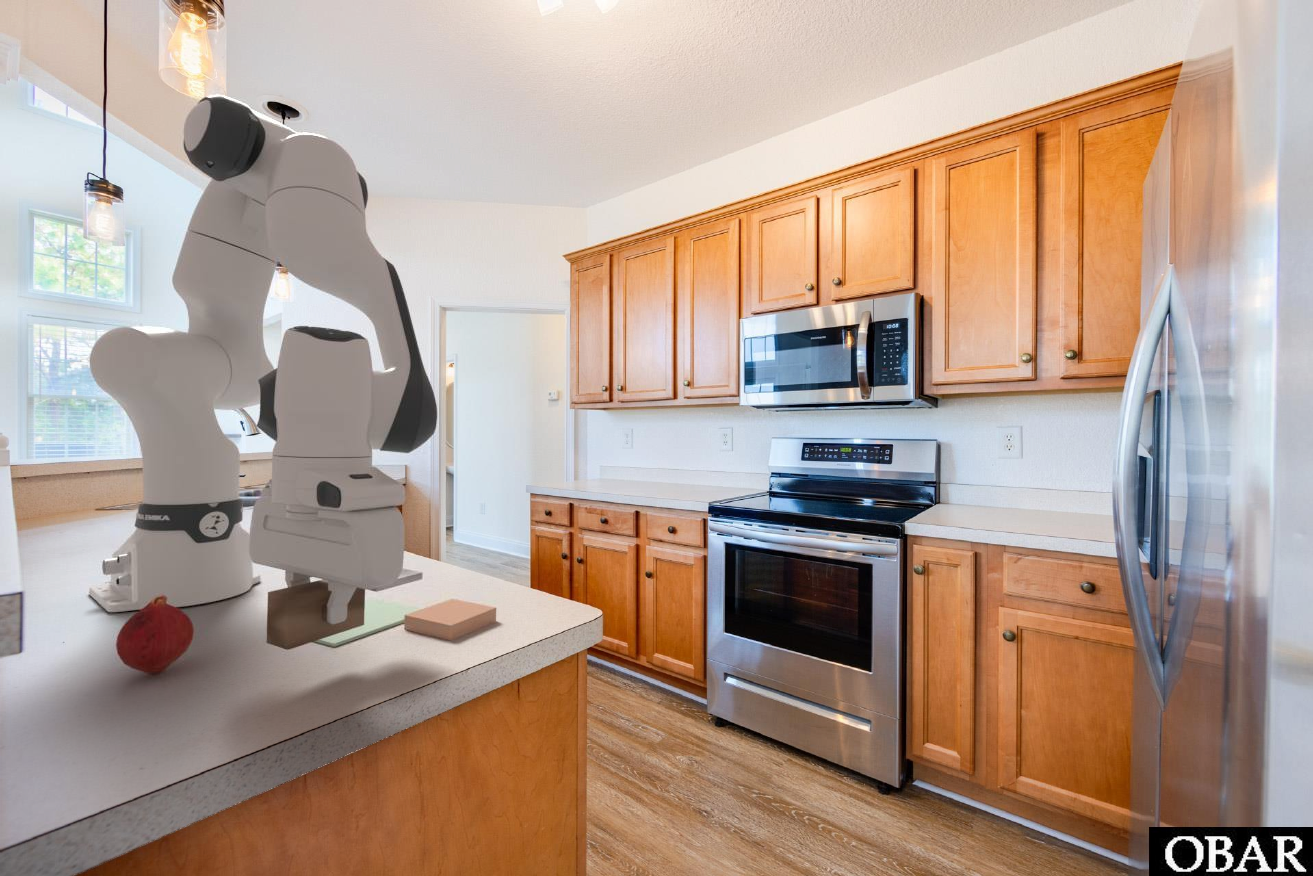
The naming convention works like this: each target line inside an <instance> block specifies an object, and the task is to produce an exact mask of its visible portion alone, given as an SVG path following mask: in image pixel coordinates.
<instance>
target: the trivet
mask: <svg viewBox="0 0 1313 876" xmlns="http://www.w3.org/2000/svg"><path fill="white" fill-rule="evenodd" d="M421 609H423V608H422V607H416V606H411V605H406V604H402V603H397V602H392V601H388V600H383V599H378V598H373V597H370V598H365V610H364V625H363V626H359V627H356V628H353V629H350V630H347V631H344V632H341V633H338V634H335V635H332V636H329V637H326V638H323V639H320V640H317V641H314V643H318V644H322V645H326V646H327V647H328V646H329V647H333V648H335V647H338V646H341V645H344V644H347V643H350V642H353V641H355V640H358V639H361V638H364V637H367V636H369V635H372V634H375V633H378V632H381V631H383V630H386V629H389V628H392V627H395V626H398V625H400V624H404V615H406V614H409V613H412V612H415V611H418V610H421Z"/></svg>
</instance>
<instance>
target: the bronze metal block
mask: <svg viewBox="0 0 1313 876" xmlns="http://www.w3.org/2000/svg"><path fill="white" fill-rule="evenodd" d="M421 580H423V572H422V571H417V570H413V569H407V568H402V572H401V574H400V576H399V577H398V579H397V580H396V581H395V582H394V583H392V584H389V585H385V586H382V587H378V588H373V589H368V590H367V591H372V592H375V593H377V592H380V591H385V590H387V589H392V588H395V587H396V588H397V587H399V586H402V585H407V584H409V583H410V584H411V583H413V582H418V581H421ZM331 593H332V591H329V590H328V580H324V579H319V580H315V581H311V582H310V583H305V584H301V585H297V586H292V587H288V586H287V587H284V588H280V589H275V590H271V591H267V606H266V609H267V612H266V613H267V615H266V644H269V645H272V646H275V647H277V648H280V649H282V650H283V649H284V650H286V651H288V650H291V649H294V648H298V647H302V646H304V645H308V644H310V643H313V642H314V641H317V640H320V639H323V638H326V637H329V636H332V635H335V634H338V633H341V632H344V631H347V630H350V629H353V628H356V627H359V626H363V625H364V610H365V600H366V589H361V588H357V587H356V590H355V591H354V593H353V595H352V597H351V599H350V601H349V603H348V604H347V618H346V620H345V621H343V622H340V623H337V624H330V623H327V622H324V621H322V619H321V616H322V605H325V604H328V601H329V598H330V595H331ZM314 643H315V642H314Z"/></svg>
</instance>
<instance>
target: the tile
mask: <svg viewBox="0 0 1313 876" xmlns="http://www.w3.org/2000/svg"><path fill="white" fill-rule="evenodd" d="M494 622H497V607H495V606H491V605H485V604H481V603H476V602H475V603H474V602H470V601H464V600H460V599H455V598H451V599H447V600H444V601H441V602H439V603H436V604H433V605H430V606H428V607H423V608H422V609H421V610H418V611H415V612H412V613H409V614H406V615H404V623H403V626H404V627H403V628H404V630H406V631H410V632H414V633H418V634H419V633H420V634H422V635H428V636H431V637H435V638H440V639H444V640H447V641H453V640H454V639H457V638H459V637H462V636H464V635H466V634H469V633H471V632H474V631H475V630H478V629H481V628H482V627H485V626H488V625H490V624H492V623H494Z"/></svg>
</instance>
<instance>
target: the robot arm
mask: <svg viewBox="0 0 1313 876" xmlns="http://www.w3.org/2000/svg"><path fill="white" fill-rule="evenodd" d="M182 142H183V150H184V152H185V154H186V156H187V158H188V160H189V163H191V165H193V166H194V167H196V168H197V170H199V171H201V173H203V174H205V175H206V176H207V177H209V178H211V179H210V182H208V183H207V184H208V185H207V186H206V187H205V189H204V190H203V193H202V195H201V196H200V198H199V200H198V202H197V204H196V206H195V208H194V210H193V213H192V216H191V218H190V220H189V223H188V227H187V229H186V232H185V235H184V238H183V242H182V245H181V248H180V252H179V255H178V258H177V262H176V264H175V268H174V270H173V274H172V276H171V277H172V281H171V282H172V285H173V289H174V290H175V292H176V293H177V295H178V296H179V297H180V299H182V300H183V302H184V304H185V306H186V311H187V314H188V315H187V316H188V328H187V332H186V331H181V330H176V329H172V328H168V327H167V328H166V327H162V326H143V325H142V326H141V325H140V326H121V327H120V326H119V327H116V328H112V329H109V330H108V331H107V332H105V333H104V334H102V335H101V336H100V337H99V338H98V339H97V340H96V342H95V343H94V345H93V347H92V349H91V352H90V353H89V355H90V356H89V370H90V373H91V375H92V377H93V379H94V381H95V382H96V384H97V386H98V387H99V388H100V389H101V390H102V391H104V393H106V394H108V395H109V396H110V397H112V398H113V400H115V401H116V402H117V403H118V404H119V405H120V406H121V408H122V409H123V410H124V412H125V413H126V415H127V416H128V418H129V420H130V422H131V424H132V426H133V429H134V431H135V433H136V435H137V439H138V442H139V445H140V449H141V450H140V451H141V457H142V458H141V459H142V502H140V504H139V506H138V507H137V508H138V509H137V512H136V514H135V523H134V527H135V528H136V529H135V530H134V532H133V533H132V534H131V535H130V536H129V537H127V539H126V540H125V541H124V542H123V543H122V544H121V545H120V546H119V547H118V548H117V550H114V552H113V553H112V556H111V557H110V558H104V559H103V561H102V565H101V567H102V568H101V569H102V570H101V571H102V574H103V575H104V576H108V575H109V576H110V581H107V582H102V583H99V584H95V585H92V586H90V587H89V590H88V595H89V596H91V597H92V598H93V599H94V601H96V602H97V603H98V604H99V605H100V606H101V607H102V608H103V609H104V610H106V612H108V613H118V612H119V613H120V612H128V611H137V610H138V611H139V610H141V609H143V608H144V607H145V606H147V605H148V604H149V603H150V602H151V600H152V599H153V598H155V597H156V596H158V595H164V596H166V597H167V600H166V604H169V605H171V606H174V607H176V608H181V607H189V606H196V605H201V604H208V603H212V602H216V601H221V600H226V599H229V598H232V597H237V596H239V595H241V594H244V593H245V592H247V591H249V590H251V588H252V586H253V585H255V584H258V583H260V582H261V581H262V579H261V574H259V573H254V568H253V563H254V564H257V565H262V566H265V567H270V568H274V569H278V570H283V571H284V572H285V573H284V574H285V577H284V579H285V580H284V581H285V583H286V585H287V588H288V587H292V586H297V585H301V584H305V583H310V582H312V581H311V578H315V579H319V580H323V579H324V580H328V590H329V591H332V593H331V595H330V598H329V601H328V604H325V605H322V616H321V619H322V621H324V622H327V623H330V624H337V623H340V622H343V621H345V620H346V618H347V604H348V603H349V601H350V599H351V597H352V595H353V593H354V591H355V590H356V587H357V588H361V589H365V590H367V591H369V590H368V589H373V588H378V587H382V586H385V585H389V584H392V583H394V582H395V581H396V580H397V579H398V577H399V576H400V574H401V572H402V568H403V567H404V557H405V555H404V553H405V523H404V518H403V515H402V513H401V511H400V509H399V508H398V507H396V506H401V505H403V504H404V503H405V502H406V501H405V500H406V488H405V485H404V484H402V483H401V482H399V481H398V480H397V479H394V478H392V477H391V476H389V475H387V474H386V473H384V472H383V471H382V470H380V469H379V468H377V467H376V466H373V450H379V451H380V452H392V453H400V454H402V453H404V454H409V453H411V452H413V451H415V450H416V449H419V448H420V447H421V446H423V445H424V444H425V443H426V442H427V441H428V440H429V439H431V437H433V435H434V434H435V432H436V429H437V424H438V423H437V421H438V405H437V402H436V401H437V400H436V396H435V392H434V389H433V387H432V384H431V382H430V379H429V376H428V374H427V371H426V368H425V366H424V363H423V360H422V356H421V352H420V349H419V344H418V341H417V335H416V332H415V329H414V325H413V321H412V317H411V314H410V309H409V305H408V301H407V299H406V295H405V291H404V288H403V285H402V282H401V279H400V276H399V274H398V271H397V270H396V268H395V266H394V264H393V263H391V262H390V261H388V259H386V258H384V256H382V254H381V253H380V252H379V251H378V250H377V249H376V247H375V245H374V244H373V242H372V240H371V238H370V237H369V234H368V231H367V224H366V208H367V206H368V201H369V191H368V190H369V189H368V186H367V182H366V179H365V178H364V177H363V176H362V174H361V173H359V171H358V170H357V168H356V165H355V162H354V160H353V159H352V157H351V156H350V154H349V153H348V151H346V149H344V148H343V147H342V146H341V145H340V144H338V143H337V142H335V141H333V140H332V139H330V138H329V137H325V136H323V135H321V134H316V133H309V132H302V133H301V132H296V131H294V129H291V128H290V127H287V126H286V125H284V124H282V123H280V122H279V121H276V120H274V119H272V118H271V117H268V116H266V115H264V114H262V113H260V112H257V111H255V110H253V109H251V107H250V106H249V105H248V104H246V103H243V102H241V101H239V100H236V99H234V98H231V97H228V96H226V95H221V94H213V95H208V96H204V97H203V98H201V99H200V100H199V101H198V102H197V104H196V105H194V106H193V108H192V109H191V110H190V111H189V113H188V114H187V116H186V118H185V121H184V125H183V141H182ZM278 262H279V264H280V265H281V266H282V267H283V269H285V270H286V271H287V272H288V273H290V275H292V276H294V277H295V278H296V279H297V280H299V281H300V282H302V283H303V284H306V285H308V286H310V287H312V288H314V289H317V290H319V291H321V292H324V293H326V294H328V295H331V296H333V297H336V298H337V299H340V300H341V301H344V302H345V303H347V304H349V305H351V306H353V307H355V308H356V309H358V311H361V313H363V314H364V315H366V317H367V318H368V319H369V320H370V321H371V323H372V325H373V328H374V331H375V334H376V338H377V342H378V347H379V351H380V355H381V359H382V363H383V366H384V368H383V369H384V370H373V362H372V361H373V360H372V354H371V348H370V344H369V341H368V338H366V337H364V336H363V335H361V334H359V333H357V332H354V331H350V330H349V331H348V330H341V329H338V328H337V329H336V328H329V327H322V326H321V327H320V326H308V325H298V326H293V327H290V328H288V329H286V330H285V332H284V334H283V338H282V341H281V344H280V346H281V347H280V350H279V356H278V361H277V368H275V367H274V365H273V364H272V362H271V361H270V359H269V357H268V355H267V352H266V349H265V343H264V342H265V341H264V328H263V327H264V326H263V325H264V314H265V313H264V312H265V307H266V302H267V300H268V295H269V292H270V288H271V285H272V282H273V278H274V274H275V272H276V268H277V266H278V265H277V264H278ZM258 405H259V415H258V416H259V417H258V421H257V424H256V427H257V428H258V429H259V430H261V432H263V433H264V434H266V436H267V437H269V438H270V439H272V440H273V441H274V442H275V443H274V446H273V449H272V459H271V460H272V461H271V465H272V466H271V478H270V479H269V480H268V482H267V483H266V484H265V485H264V487H262V489H261V491H260V497H259V498H257V499H256V501H255V503H254V505H253V508H252V514H251V520H250V527H249V528H250V529H249V531H247V530H246V529H245V528H244V527H242V525H241V523H240V522H243V513H244V506H243V499H242V498H240V465H241V464H240V462H241V461H240V459H241V458H240V456H241V455H240V450H239V448H238V446H237V445H236V444H235V442H234V441H232V440H231V439H230V438H229V437H227V436H226V435H225V433H224V432H223V430H222V428H221V426H220V425H219V421H218V418H217V416H216V413H215V410H221V411H222V410H224V411H232V410H233V411H234V410H238V409H245V408H250V407H254V406H258ZM403 569H404V568H403Z"/></svg>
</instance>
